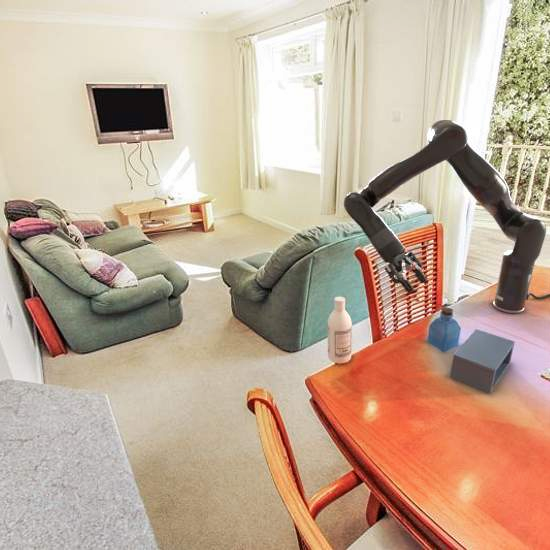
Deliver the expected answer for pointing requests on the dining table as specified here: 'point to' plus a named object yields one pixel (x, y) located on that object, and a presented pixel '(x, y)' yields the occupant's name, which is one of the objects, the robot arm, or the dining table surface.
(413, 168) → the robot arm
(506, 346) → the shelf
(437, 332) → the perfume bottle
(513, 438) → the dining table surface
